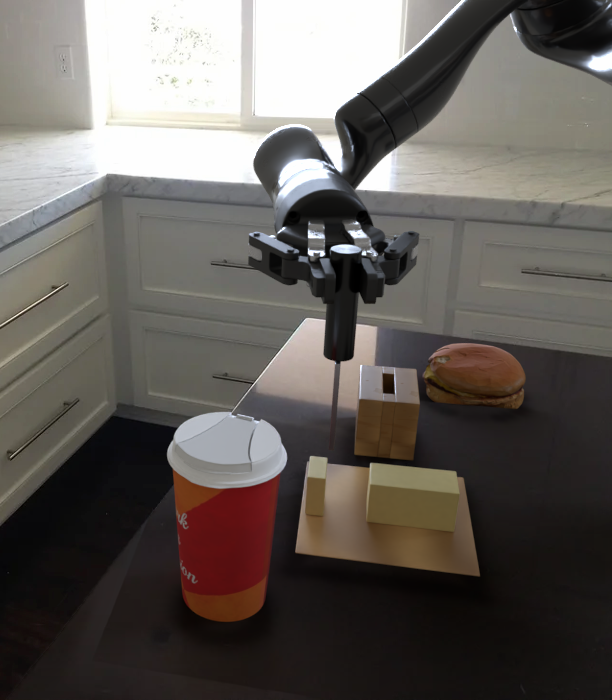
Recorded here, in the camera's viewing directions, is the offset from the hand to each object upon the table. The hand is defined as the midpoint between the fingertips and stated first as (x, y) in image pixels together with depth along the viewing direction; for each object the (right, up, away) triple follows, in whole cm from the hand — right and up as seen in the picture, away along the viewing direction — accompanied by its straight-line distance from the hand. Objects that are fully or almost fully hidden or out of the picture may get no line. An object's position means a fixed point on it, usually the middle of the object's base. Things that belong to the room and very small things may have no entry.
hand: (351, 290), depth 59 cm
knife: (0, -11, +8) cm, 14 cm away
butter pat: (0, -16, +11) cm, 20 cm away
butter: (+7, -17, +9) cm, 21 cm away
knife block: (+8, -13, +21) cm, 26 cm away
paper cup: (-8, -22, +2) cm, 24 cm away
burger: (+20, -9, +31) cm, 37 cm away
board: (+5, -18, +10) cm, 22 cm away
